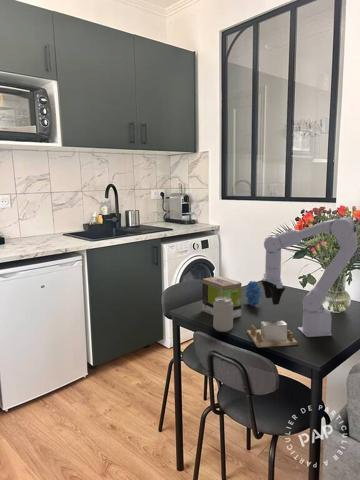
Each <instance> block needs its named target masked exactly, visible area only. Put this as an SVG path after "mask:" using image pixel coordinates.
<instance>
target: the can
mask: <svg viewBox="0 0 360 480" xmlns="http://www.w3.org/2000/svg"><path fill="white" fill-rule="evenodd" d="M212 316H213V318H212V319H213V321H212V323H213V324H212V325H213V326H212V327H213V328H214V330H215V331H216V332H220V333H227V332H230V331H231V330H233V327H234V318H233V302H232V301H231V298H228V297H217V298H215V301H214V302H213V315H212Z"/></svg>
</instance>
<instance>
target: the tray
mask: <svg viewBox="0 0 360 480" xmlns="http://www.w3.org/2000/svg"><path fill="white" fill-rule="evenodd" d="M291 331H292V330H290V329H287V341H280V342H263V340H262V335H261V329H257V327H255V325H253V324H250V329H249V330H248V329H247V332H246V333H247V335H248V336H249V337H250V339H251V340H252V342H253V343H254V344H255V346H256V347H257V348H268V347H282V346H283V347H284V346H297V345H298V341H297V340H296V339H295V338H294V333H293V332H291Z"/></svg>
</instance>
